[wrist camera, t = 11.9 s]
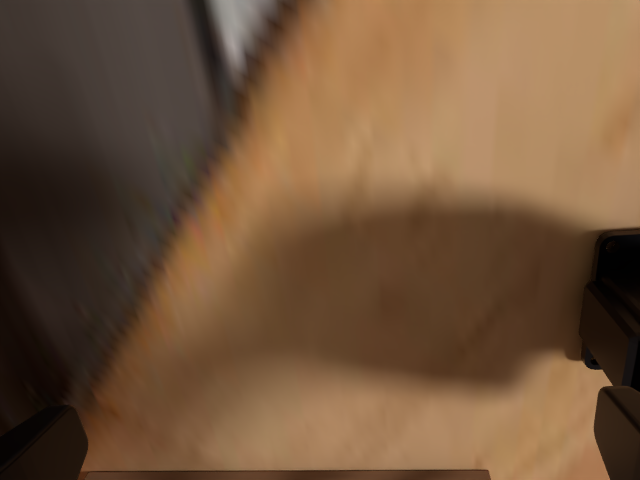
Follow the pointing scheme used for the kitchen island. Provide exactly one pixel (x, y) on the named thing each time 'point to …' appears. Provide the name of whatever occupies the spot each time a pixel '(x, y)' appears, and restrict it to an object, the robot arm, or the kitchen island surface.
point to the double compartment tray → (295, 475)
